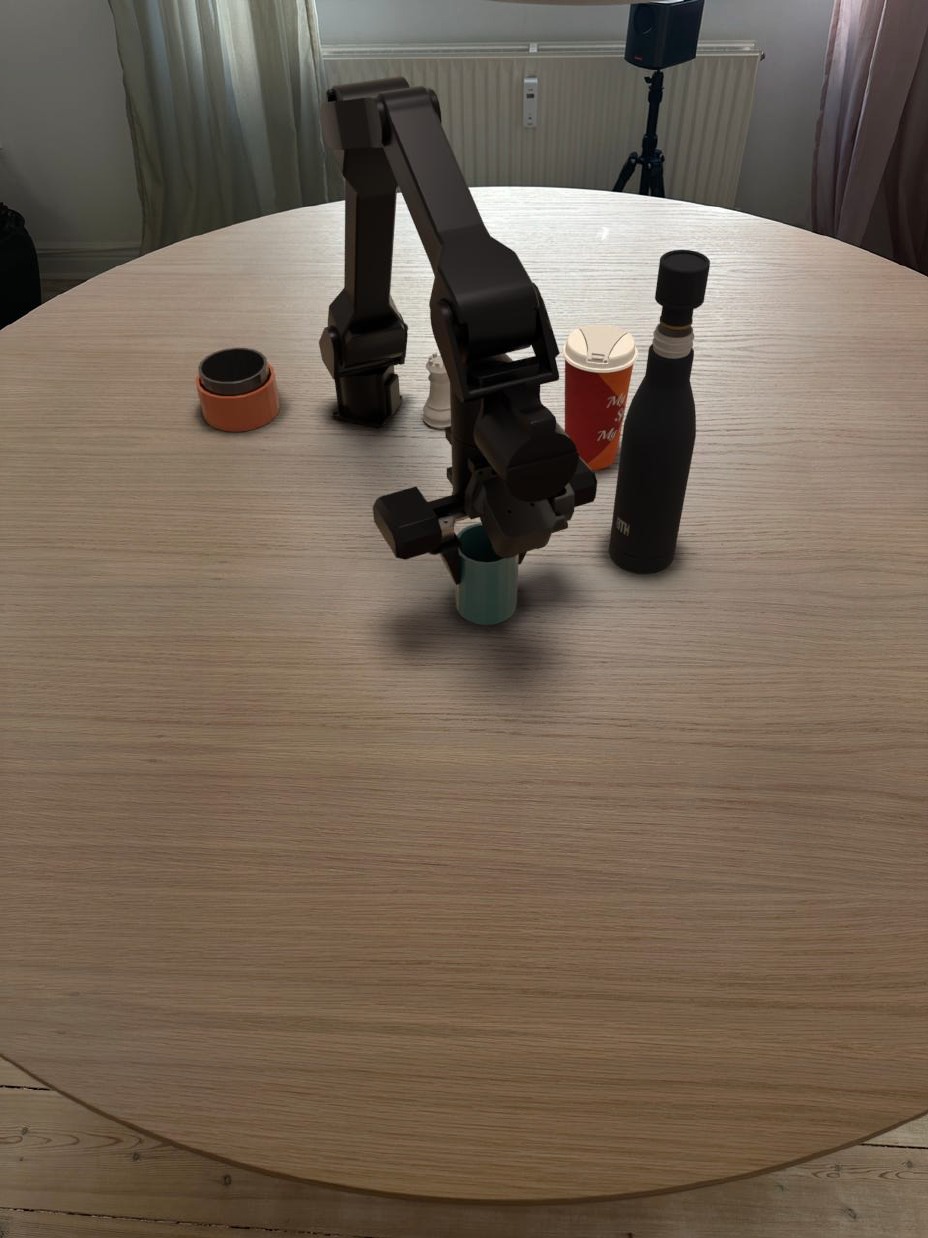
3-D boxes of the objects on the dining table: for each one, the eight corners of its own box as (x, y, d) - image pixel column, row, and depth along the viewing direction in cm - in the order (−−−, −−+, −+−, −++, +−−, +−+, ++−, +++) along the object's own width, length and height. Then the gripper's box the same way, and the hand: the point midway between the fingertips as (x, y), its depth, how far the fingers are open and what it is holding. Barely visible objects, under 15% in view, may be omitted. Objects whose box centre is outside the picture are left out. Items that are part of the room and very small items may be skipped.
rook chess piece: (467, 413, 115) (466, 352, 109) (451, 433, 112) (449, 371, 106) (433, 405, 116) (430, 343, 110) (416, 424, 113) (412, 363, 107)
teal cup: (446, 616, 91) (444, 556, 86) (468, 576, 95) (467, 516, 90) (505, 631, 90) (506, 571, 84) (524, 590, 93) (527, 530, 88)
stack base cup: (189, 423, 114) (180, 389, 111) (228, 383, 120) (221, 350, 117) (256, 438, 112) (250, 404, 108) (293, 397, 118) (287, 363, 114)
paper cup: (622, 479, 105) (636, 363, 95) (551, 471, 106) (557, 356, 97) (628, 438, 111) (642, 324, 101) (560, 430, 112) (568, 317, 102)
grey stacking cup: (196, 421, 114) (185, 376, 110) (229, 387, 119) (220, 342, 115) (254, 434, 112) (245, 388, 108) (286, 398, 117) (278, 353, 113)
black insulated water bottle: (679, 538, 98) (733, 247, 77) (667, 579, 94) (720, 284, 73) (616, 525, 100) (652, 236, 79) (601, 565, 96) (635, 272, 74)
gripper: (417, 518, 71) (426, 663, 82) (640, 451, 76) (620, 597, 87) (363, 436, 78) (378, 580, 89) (570, 381, 83) (560, 524, 94)
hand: (486, 571), depth 89 cm, fingers closed on teal cup, 6 cm apart
